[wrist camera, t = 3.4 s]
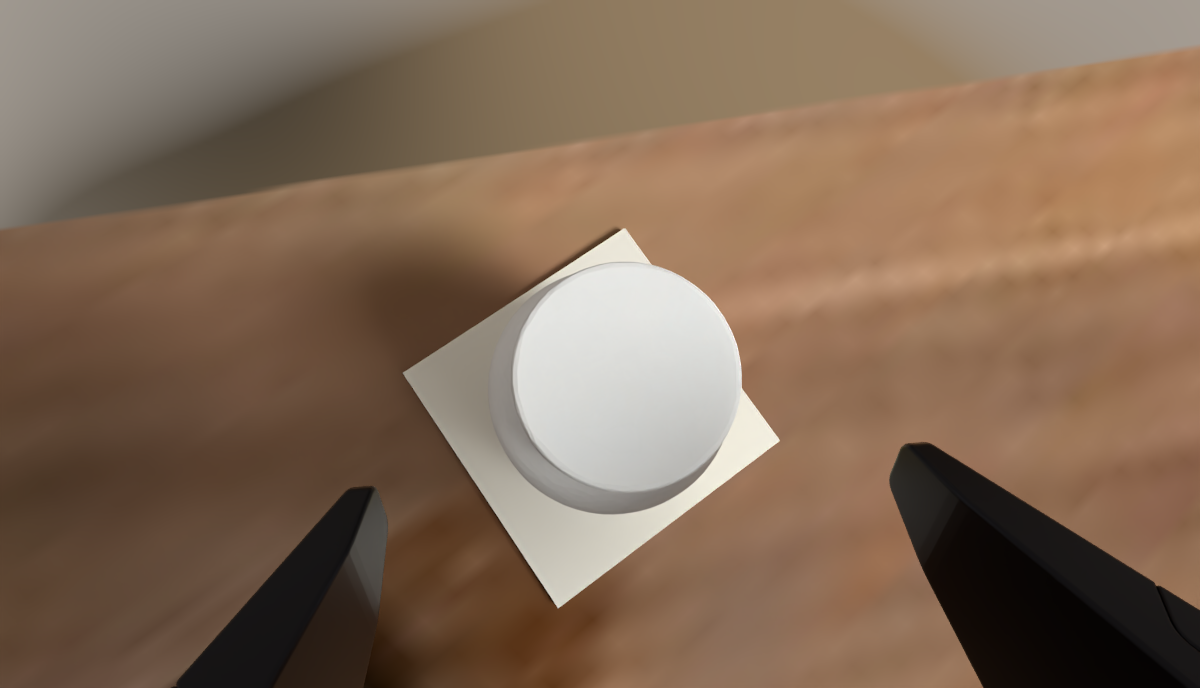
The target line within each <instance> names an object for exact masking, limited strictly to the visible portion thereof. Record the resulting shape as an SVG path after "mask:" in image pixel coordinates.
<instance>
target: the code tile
mask: <svg viewBox="0 0 1200 688" xmlns="http://www.w3.org/2000/svg"><path fill="white" fill-rule="evenodd" d="M610 262H639V263H645V264H650V265H651V263H650V262H649V261H648V259H647V258H646V256H645V255H644V254H643V252H642V251H641V250H640V248H639V247H638V245H637V244H636V243H635V241H634V240H633V239H632V237H631V236H630V235H629V233H628V232H627V230H626V229H625V228H624V229H622V230H621V231H619V232H618V233H616V234H615V235H613V236H612V237H610V238H609V239H607V240H606V241H604V242H603V243H601V244H599V245H598V246H596V247H595V248H593V249H592V250H590V251H589V252H587V253H586V254H584V255H583V256H581V257H580V258H578V259H576V260H575V261H573V262H572V263H570V264H569V265H567V266H566V267H564V268H563V269H561V270H560V271H558V272H557V273H555V274H553V275H552V276H550V277H549V278H547V279H546V280H544V281H543V282H541V283H540V284H538V285H537V286H535V287H534V288H532V289H531V290H529V291H527V292H526V293H524V294H523V295H521V296H520V297H518V298H517V299H515V300H514V301H512V302H511V303H509V304H508V305H506V306H504V307H503V308H501V309H500V310H498V311H497V312H495V313H494V314H492V315H491V316H489V317H488V318H486V319H485V320H483V321H481V322H480V323H478V324H477V325H475V326H474V327H472V328H471V329H469V330H468V331H466V332H465V333H463V334H462V335H460V336H458V337H457V338H455V339H454V340H452V341H451V342H449V343H448V344H446V345H445V346H443V347H442V348H440V349H439V350H437V351H436V352H434V353H432V354H431V355H429V356H428V357H426V358H425V359H423V360H422V361H420V362H419V363H417V364H416V365H414V366H413V367H411V368H409V369H408V370H406V371H405V372H403V374H404V376H405V377H406V379H407V380H408V382H409V383H410V385H411V387H412V388H413V390H414V391H415V393H416V394H417V396H418V397H419V399H420V400H421V402H422V403H423V405H424V406H425V408H426V409H427V411H428V412H429V414H430V415H431V417H432V418H433V420H434V421H435V423H436V424H437V426H438V427H439V429H440V430H441V432H442V433H443V435H444V436H445V438H446V439H447V441H448V443H449V444H450V446H451V447H452V449H453V450H454V452H455V453H456V455H457V456H458V458H459V459H460V461H461V462H462V464H463V465H464V467H465V468H466V470H467V471H468V473H469V474H470V476H471V477H472V479H473V480H474V482H475V483H476V485H477V486H478V488H479V489H480V491H481V492H482V494H483V495H484V497H485V498H486V500H487V502H488V503H489V505H490V506H491V508H492V509H493V511H494V512H495V514H496V515H497V517H498V518H499V520H500V521H501V523H502V524H503V526H504V527H505V529H506V530H507V532H508V533H509V535H510V536H511V538H512V539H513V541H514V542H515V544H516V545H517V547H518V548H519V550H520V551H521V553H522V554H523V556H524V557H525V559H526V561H527V562H528V564H529V565H530V567H531V568H532V570H533V571H534V573H535V574H536V576H537V577H538V579H539V580H540V582H541V583H542V585H543V586H544V588H545V589H546V591H547V592H548V594H549V595H550V597H551V598H552V600H553V601H554V603H555V604H556V606H557V607H558V608H559V607H561V606H562V605H563V604H565V603H566V602H567V601H568V600H570V599H571V598H572V597H574V596H575V595H576V594H578V593H579V592H580V591H582V590H583V589H584V588H586V587H587V586H588V585H590V584H591V583H592V582H594V581H595V580H596V579H598V578H599V577H600V576H602V575H603V574H604V573H606V572H607V571H608V570H609V569H611V568H612V567H613V566H615V565H616V564H617V563H619V562H620V561H621V560H623V559H624V558H625V557H627V556H628V555H629V554H631V553H632V552H633V551H635V550H636V549H637V548H639V547H640V546H641V545H643V544H644V543H645V542H647V541H648V540H649V539H650V538H652V537H653V536H654V535H656V534H657V533H658V532H660V531H661V530H662V529H664V528H665V527H666V526H668V525H669V524H670V523H672V522H673V521H674V520H676V519H677V518H678V517H680V516H681V515H682V514H684V513H685V512H686V511H688V510H689V509H690V508H691V507H693V506H694V505H695V504H697V503H698V502H699V501H701V500H702V499H703V498H705V497H706V496H707V495H709V494H710V493H711V492H713V491H714V490H715V489H717V488H718V487H719V486H721V485H722V484H723V483H725V482H726V481H727V480H729V479H730V478H731V477H732V476H734V475H735V474H736V473H738V472H739V471H740V470H742V469H743V468H744V467H746V466H747V465H748V464H750V463H751V462H752V461H754V460H755V459H756V458H758V457H759V456H760V455H762V454H763V453H764V452H766V451H767V450H768V449H769V448H771V447H772V446H773V445H775V444H776V443H777V442H779V441H780V440H779V439H778V437H777V436H776V435H775V433H774V432H773V430H772V429H771V428H770V426H769V425H768V424H767V422H766V421H765V419H764V418H763V417H762V415H761V414H760V413H759V411H758V410H757V409H756V407H755V406H754V404H753V403H752V402H751V400H750V399H749V398H748V396H747V395H746V393H745V392H744V391H743V389H742V388H741V395H740V401H739V406H738V410H737V413H736V416H735V419H734V422H733V424H732V426H731V428H730V430H729V432H728V434H727V436H726V438H725V439H724V441H723V443H722V445H721V447H720V449H719V451H718V453H717V455H716V456H715V458H714V459H713V461H712V462H711V464H710V465H709V466H708V468H707V469H706V470H705V472H704V473H703V474H702V475H701V476H700V477H699V478H698V479H697V480H696V481H695V482H694V483H693V484H692V485H690V486H689V487H688V488H687V489H685V490H684V491H683V492H681V493H680V494H678V495H677V496H675V497H673V498H672V499H670V500H668V501H666V502H664V503H662V504H660V505H657V506H655V507H652V508H649V509H646V510H642V511H638V512H633V513H626V514H613V515H612V514H596V513H590V512H585V511H581V510H577V509H574V508H571V507H568V506H565V505H563V504H561V503H559V502H557V501H555V500H553V499H551V498H549V497H547V496H546V495H544V494H543V493H542V492H540V491H539V490H537V489H536V488H535V487H533V486H532V485H531V484H530V483H529V482H528V481H527V480H526V479H525V478H524V477H523V476H522V475H521V474H520V473H519V471H518V470H517V469H516V468H515V466H514V465H513V464H512V462H511V461H510V459H509V458H508V456H507V454H506V453H505V451H504V449H503V447H502V445H501V444H500V442H499V439H498V437H497V434H496V432H495V429H494V426H493V422H492V419H491V414H490V409H489V401H488V378H489V370H490V365H491V360H492V357H493V354H494V350H495V348H496V345H497V342H498V340H499V338H500V336H501V334H502V332H503V330H504V328H505V327H506V325H507V324H508V322H509V321H510V319H511V318H512V316H513V315H514V314H515V313H516V312H517V311H518V309H519V308H520V307H521V306H522V305H523V304H524V303H525V302H526V301H527V300H528V299H529V298H530V297H531V296H533V295H534V294H535V293H537V292H538V291H540V290H541V289H543V288H544V287H546V286H547V285H549V284H551V283H553V282H555V281H557V280H559V279H561V278H563V277H566V276H569V275H571V274H574V273H576V272H578V271H580V270H583V269H585V268H588V267H592V266H595V265H599V264H604V263H610Z"/></svg>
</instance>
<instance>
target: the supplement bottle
mask: <svg viewBox="0 0 1200 688" xmlns="http://www.w3.org/2000/svg"><path fill="white" fill-rule="evenodd" d="M741 387H742V371H741V362H740V357H739V352H738V347H737V344H736V341H735V339H734V336H733V333H732V331H731V329H730V327H729V325H728V323H727V322H726V320H725V318H724V316H723V315H722V313H721V312H720V310H719V309H718V308H717V306H716V305H715V304H714V303H713V301H712V300H711V299H710V298H709V297H708V296H707V295H706V294H705V293H704V292H702V291H701V290H700V289H699V288H698V287H696V286H695V285H694V284H692V283H691V282H689V281H688V280H686V279H685V278H683V277H681V276H679V275H677V274H675V273H673V272H672V271H669V270H667V269H664V268H661V267H658V266H654V265H650V264H645V263H639V262H610V263H604V264H599V265H595V266H592V267H588V268H585V269H583V270H580V271H578V272H576V273H574V274H571V275H569V276H566V277H563V278H561V279H559V280H557V281H555V282H553V283H551V284H549V285H547V286H546V287H544V288H543V289H541V290H540V291H538V292H537V293H535V294H534V295H533V296H531V297H530V298H529V299H528V300H527V301H526V302H525V303H524V304H523V305H522V306H521V307H520V308H519V309H518V311H517V312H516V313H515V314H514V315H513V316H512V318H511V319H510V321H509V322H508V324H507V325H506V327H505V328H504V330H503V332H502V334H501V336H500V338H499V340H498V342H497V345H496V348H495V350H494V354H493V357H492V360H491V365H490V370H489V378H488V401H489V409H490V414H491V419H492V422H493V426H494V429H495V432H496V434H497V437H498V439H499V442H500V444H501V445H502V447H503V449H504V451H505V453H506V454H507V456H508V458H509V459H510V461H511V462H512V464H513V465H514V466H515V468H516V469H517V470H518V471H519V473H520V474H521V475H522V476H523V477H524V478H525V479H526V480H527V481H528V482H529V483H530V484H531V485H532V486H533V487H535V488H536V489H537V490H539V491H540V492H542V493H543V494H544V495H546V496H547V497H549V498H551V499H553V500H555V501H557V502H559V503H561V504H563V505H565V506H568V507H571V508H574V509H577V510H581V511H585V512H590V513H596V514H612V515H613V514H626V513H633V512H638V511H642V510H646V509H649V508H652V507H655V506H657V505H660V504H662V503H664V502H666V501H668V500H670V499H672V498H673V497H675V496H677V495H678V494H680V493H681V492H683V491H684V490H685V489H687V488H688V487H689V486H690V485H692V484H693V483H694V482H695V481H696V480H697V479H698V478H699V477H700V476H701V475H702V474H703V473H704V472H705V470H706V469H707V468H708V466H709V465H710V464H711V462H712V461H713V459H714V458H715V456H716V455H717V453H718V451H719V449H720V447H721V445H722V443H723V441H724V439H725V438H726V436H727V434H728V432H729V430H730V428H731V426H732V424H733V422H734V419H735V416H736V413H737V410H738V406H739V401H740V395H741Z"/></svg>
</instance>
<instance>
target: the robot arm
mask: <svg viewBox="0 0 1200 688" xmlns="http://www.w3.org/2000/svg"><path fill="white" fill-rule="evenodd" d="M889 481H890V488H891V491H892V493H893V496H894V499H895V501H896V504H897V506H898V509H899V511H900V514H901V516H902V519H903V522H904V524H905V527H906V529H907V532H908V534H909V537H910V539H911V542H912V545H913V547H914V550H915V552H916V555H917V557H918V559H919V562H920V564H921V566H922V569H923V571H924V573H925V575H926V577H927V579H928V581H929V583H930V585H931V587H932V589H933V591H934V593H935V595H936V597H937V599H938V601H939V603H940V604H941V606H942V608H943V610H944V612H945V614H946V616H947V618H948V620H949V622H950V624H951V626H952V628H953V630H954V632H955V634H956V636H957V637H958V639H959V641H960V643H961V645H962V647H963V649H964V651H965V653H966V655H967V657H968V659H969V661H970V663H971V665H972V667H973V669H974V670H975V672H976V674H977V676H978V678H979V680H980V682H981V684H982V686H983V688H1200V610H1199V609H1197V608H1195V607H1194V606H1192V605H1190V604H1189V603H1187V602H1185V601H1184V600H1182V599H1181V598H1179V597H1177V596H1176V595H1174V594H1173V593H1171V592H1169V591H1168V590H1166V589H1165V588H1163V587H1161V586H1156V585H1155V583H1154V582H1153V581H1151V580H1150V579H1148V578H1147V577H1145V576H1143V575H1142V574H1140V573H1139V572H1137V571H1135V570H1134V569H1132V568H1131V567H1129V566H1127V565H1126V564H1124V563H1122V562H1121V561H1119V560H1118V559H1116V558H1114V557H1113V556H1111V555H1110V554H1108V553H1106V552H1105V551H1103V550H1102V549H1100V548H1098V547H1097V546H1095V545H1093V544H1092V543H1090V542H1089V541H1087V540H1085V539H1084V538H1082V537H1081V536H1079V535H1077V534H1076V533H1074V532H1073V531H1071V530H1069V529H1068V528H1066V527H1065V526H1063V525H1061V524H1060V523H1058V522H1056V521H1055V520H1053V519H1052V518H1050V517H1048V516H1047V515H1045V514H1044V513H1042V512H1040V511H1039V510H1037V509H1036V508H1034V507H1032V506H1031V505H1029V504H1027V503H1026V502H1024V501H1023V500H1021V499H1019V498H1018V497H1016V496H1015V495H1013V494H1011V493H1010V492H1008V491H1007V490H1005V489H1003V488H1002V487H1000V486H998V485H997V484H995V483H994V482H992V481H990V480H989V479H987V478H986V477H984V476H982V475H981V474H979V473H978V472H976V471H974V470H973V469H971V468H970V467H968V466H966V465H965V464H963V463H961V462H960V461H958V460H957V459H955V458H953V457H952V456H950V455H949V454H947V453H945V452H944V451H942V450H941V449H939V448H937V447H936V446H934V445H932V444H930V443H927V442H919V443H907V444H905V445H903V446H902V447H901V449H900V451H899V454H898V456H897V459H896V461H895V463H894V466H893V468H892V471H891V473H890V479H889ZM387 534H388V522H387V517H386V513H385V510H384V507H383V504H382V501H381V498H380V495H379V492H378V490H377V489H376V487H374V486H363V487H352V488H350V489H348V490H347V491H346V492H345V493H344V494H343V495H342V496H341V497H340V498H339V499H338V500H337V502H336V503H335V504H334V505H333V506H332V507H331V508H330V509H329V511H328V512H327V513H326V514H325V515H324V516H323V517H322V518H321V520H320V521H319V522H318V523H317V524H316V525H315V526H314V527H313V529H312V530H311V531H310V532H309V533H308V534H307V535H306V536H305V538H304V539H303V540H302V541H301V542H300V543H299V544H298V545H297V547H296V548H295V549H294V550H293V551H292V552H291V553H290V555H289V556H288V557H287V558H286V559H285V560H284V561H283V562H282V564H281V565H280V566H279V567H278V568H277V569H276V570H275V571H274V573H273V574H272V575H271V576H270V577H269V578H268V579H267V580H266V582H265V583H264V584H263V585H262V586H261V587H260V588H259V589H258V591H257V592H256V593H255V594H254V595H253V596H252V597H251V598H250V600H249V601H248V602H247V603H246V604H245V605H244V606H243V607H242V609H241V610H240V611H239V612H238V613H237V614H236V615H235V616H234V618H233V619H232V620H231V621H230V622H229V623H228V624H227V625H226V627H225V628H224V629H223V630H222V631H221V632H220V633H219V634H218V636H217V637H216V638H215V639H214V640H213V641H212V642H211V643H210V645H209V646H208V647H207V648H206V649H205V650H204V651H203V652H202V654H201V655H200V656H199V657H198V658H197V659H196V660H195V661H194V663H193V664H192V665H191V666H190V667H189V668H188V669H187V670H186V672H185V673H184V674H183V675H182V676H181V677H180V678H179V679H178V681H177V683H176V686H177V687H176V686H174V687H171V688H363V685H364V681H365V677H366V672H367V668H368V663H369V659H370V655H371V650H372V646H373V641H374V637H375V632H376V627H377V622H378V614H379V607H380V597H381V588H382V579H383V570H384V561H385V552H386V543H387Z"/></svg>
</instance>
